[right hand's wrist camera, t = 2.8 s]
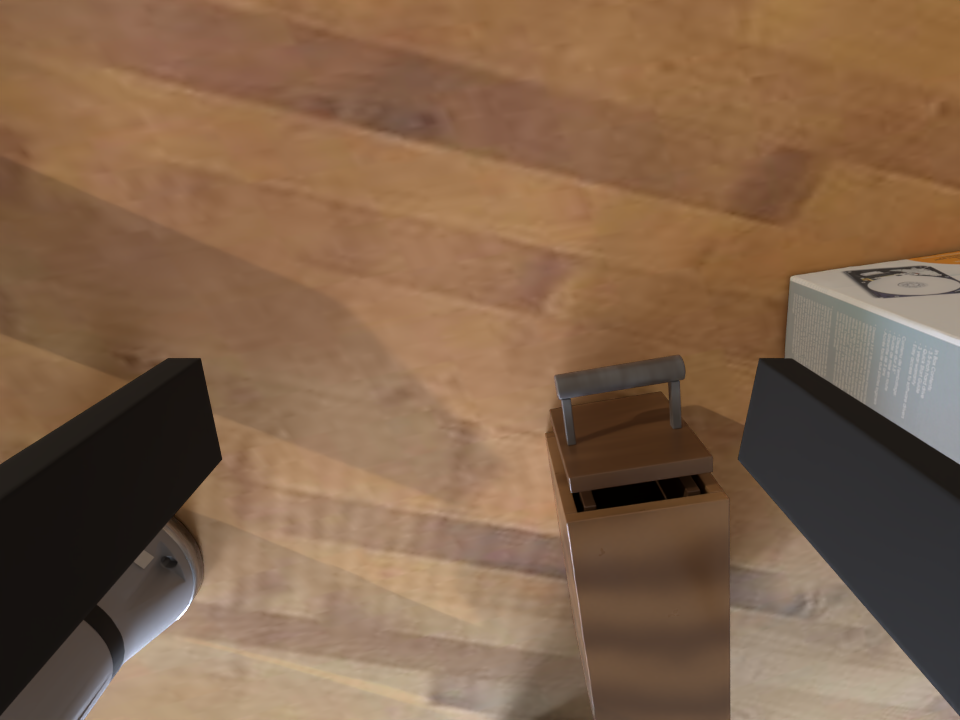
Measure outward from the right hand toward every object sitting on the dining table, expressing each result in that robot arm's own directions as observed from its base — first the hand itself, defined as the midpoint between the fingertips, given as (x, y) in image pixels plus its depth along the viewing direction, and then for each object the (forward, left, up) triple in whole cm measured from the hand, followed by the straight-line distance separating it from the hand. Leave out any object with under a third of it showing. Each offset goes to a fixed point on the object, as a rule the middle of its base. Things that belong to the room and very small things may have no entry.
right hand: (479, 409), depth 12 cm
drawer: (-11, -19, -25) cm, 34 cm away
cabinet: (-16, -23, -26) cm, 39 cm away
